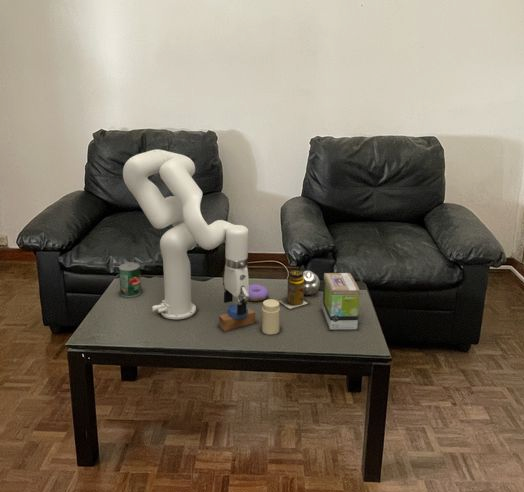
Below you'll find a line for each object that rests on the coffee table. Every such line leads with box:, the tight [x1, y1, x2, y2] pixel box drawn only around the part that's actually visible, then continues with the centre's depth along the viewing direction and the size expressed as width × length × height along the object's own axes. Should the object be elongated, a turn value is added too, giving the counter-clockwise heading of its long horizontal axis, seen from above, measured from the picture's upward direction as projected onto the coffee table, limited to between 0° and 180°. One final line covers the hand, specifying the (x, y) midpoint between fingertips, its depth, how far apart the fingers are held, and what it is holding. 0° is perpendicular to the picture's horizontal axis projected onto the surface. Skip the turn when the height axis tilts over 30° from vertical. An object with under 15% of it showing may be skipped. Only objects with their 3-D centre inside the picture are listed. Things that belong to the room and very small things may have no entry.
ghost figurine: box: [302, 270, 321, 296], centre depth 212 cm, size 9×10×10 cm
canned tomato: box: [118, 261, 142, 298], centre depth 213 cm, size 8×8×11 cm
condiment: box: [278, 269, 308, 310], centre depth 205 cm, size 7×8×12 cm
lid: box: [227, 303, 249, 319], centre depth 189 cm, size 7×7×2 cm
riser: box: [218, 307, 256, 332], centre depth 189 cm, size 12×4×4 cm, turn 121°
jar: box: [261, 298, 281, 335], centre depth 185 cm, size 6×6×10 cm
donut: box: [248, 284, 269, 302], centre depth 210 cm, size 10×9×5 cm
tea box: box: [322, 272, 361, 331], centre depth 192 cm, size 15×10×15 cm, turn 4°
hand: (234, 307), depth 189 cm, fingers open, 9 cm apart
